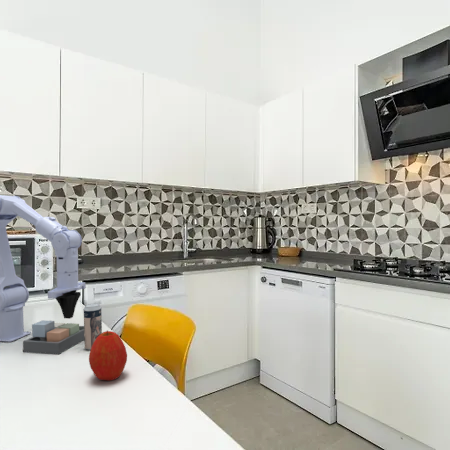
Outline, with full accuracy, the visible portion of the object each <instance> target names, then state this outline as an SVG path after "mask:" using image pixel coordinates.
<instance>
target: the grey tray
mask: <svg viewBox="0 0 450 450" xmlns="http://www.w3.org/2000/svg"><path fill="white" fill-rule="evenodd" d="M82 342H84V325H79V331H78V332H76V333H75V334H73V335H71V336H69V337H67V338H65V339H63V340H61V341H59V342H47V337H32V336H31V337H29V338H27V339H24V340H23V341H22V351H23V353H30V354H31V353H32V354H47V355H60V354H62V353H64V352H65V351H67V350H69V349H71V348H72V347H75V346H76V345H78V344H80V343H82Z"/></svg>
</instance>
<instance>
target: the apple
mask: <svg viewBox="0 0 450 450" xmlns="http://www.w3.org/2000/svg"><path fill="white" fill-rule="evenodd" d="M127 361H128V353H127V349H126V346H125V343H124V342H123V339H122V338H121V337H120V336H119V334H117V333H116V332H114V331H111V330H110V331H109V330H106V331H102V333H101V334H100V335H99V336H98V337H97V338H96V340H95V341H94V343H93V345H92V348H91V350H89V356H88V362H89V367H90V369H91V371H92V372H93V374H94V376H95V377H96V378H97V379H98V380H102V381H113V380H117V378H119V377H120V376H121V375H122V373H123V372H124V369H125V367H126V364H127Z"/></svg>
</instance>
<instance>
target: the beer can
mask: <svg viewBox="0 0 450 450" xmlns="http://www.w3.org/2000/svg"><path fill="white" fill-rule="evenodd" d="M102 322H103V321H102V307H101V305H100V303H88V304H86V305H85V306H84V307H83V326H84V340H83V343H84V349H85V350H88V351H90V350H91V348H92V345H93V343H94V341H95V340H96V338H97V337H98V336H99V335H100V334H101V333H103V326H102V325H103V323H102Z"/></svg>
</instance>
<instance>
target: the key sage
mask: <svg viewBox="0 0 450 450" xmlns="http://www.w3.org/2000/svg"><path fill="white" fill-rule="evenodd" d="M79 326H80V323H72V322H70V323H69V322H68V323H65V324H64V325H62V326H60V327H58V328H64V329H69V336H71V335H73V334H75V333H76V332H78V331H79Z"/></svg>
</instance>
